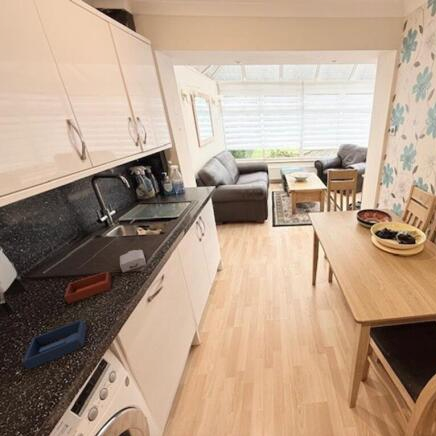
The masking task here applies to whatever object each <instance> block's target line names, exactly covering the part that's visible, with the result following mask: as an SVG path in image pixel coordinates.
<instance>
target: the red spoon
mask: <svg viewBox="0 0 436 436" xmlns="http://www.w3.org/2000/svg"><path fill="white" fill-rule="evenodd" d="M102 283H105V280H103V281H100V282H97V283H94V284H91V285H88V286H85V287H82V288H79V289H76V290H75V292H78V291H81V290H84V289H87V288H90V287H93V286H96V285H99V284H102Z"/></svg>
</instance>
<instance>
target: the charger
mask: <svg viewBox="0 0 436 436" xmlns="http://www.w3.org/2000/svg"><path fill="white" fill-rule="evenodd" d="M146 265H147V263H146V257H145V254H144V252H143V250H142V249H138V250H137V249H132V250H129V251H128V252H126V253H125V254H122V255H120V256H119V267H120V269H121V272H122V273H126V272H129V271H133V270H135V269H138V268H141V267H143V266H146Z"/></svg>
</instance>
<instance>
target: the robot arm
mask: <svg viewBox="0 0 436 436" xmlns="http://www.w3.org/2000/svg"><path fill="white" fill-rule="evenodd" d="M7 290H8V292H9V293H10V295H11V296H16V295H18V294H23V293H26V292H27V291H28V289H27V287H26V286H25V284H24V283H23V281H22V280H21V276H20V275H18V270H17V269H16V267H15V264H14V263H13V262H11V261H10V259H9V258H8V257H7V256H6V254H5V253H4V252H3V248H2V246H1V245H0V318H1V317H5V316H9V315H12V314H14V313H15V311H16V310H15V309H14V307H13V306H12V305H11V303H10V302H9V300H8V299H5V292H7Z"/></svg>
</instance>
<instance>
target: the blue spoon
mask: <svg viewBox="0 0 436 436" xmlns="http://www.w3.org/2000/svg"><path fill="white" fill-rule="evenodd" d="M76 337H77V332H74V333H71V334H69V336H67V337H66V338H63V339H60V340H58V341H55V342H53V343H51V344H48V345H45V346H42V347H40V348H39V351H38V354H40V353H43V352H45V351H48V350H50V349H53V348H55V347H58V346H60V345H62V344H65V343H67V342H70V341H72V340H75V339H76Z"/></svg>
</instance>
